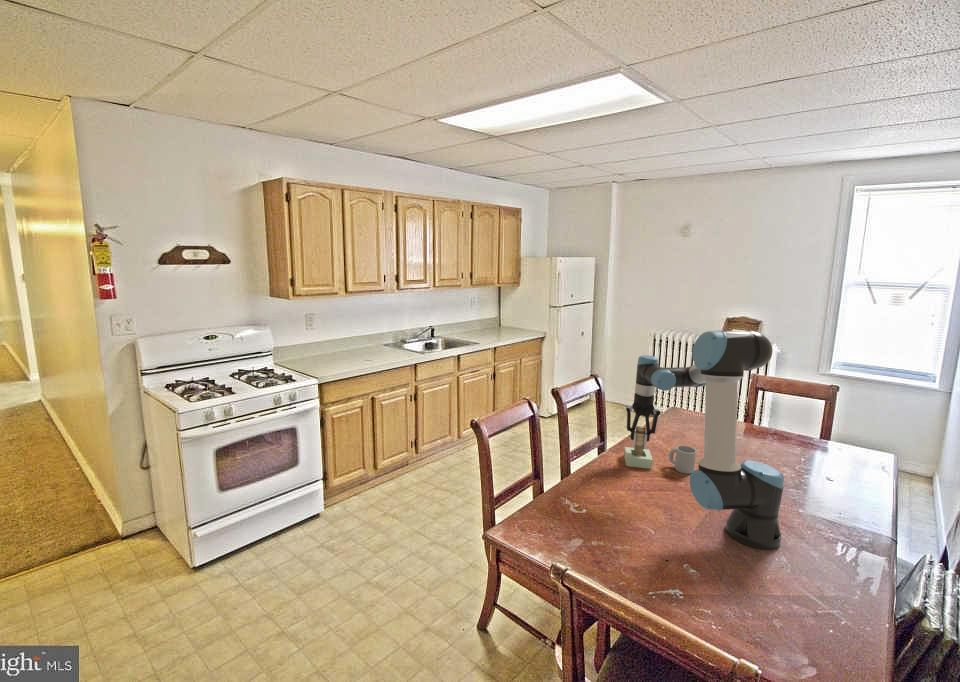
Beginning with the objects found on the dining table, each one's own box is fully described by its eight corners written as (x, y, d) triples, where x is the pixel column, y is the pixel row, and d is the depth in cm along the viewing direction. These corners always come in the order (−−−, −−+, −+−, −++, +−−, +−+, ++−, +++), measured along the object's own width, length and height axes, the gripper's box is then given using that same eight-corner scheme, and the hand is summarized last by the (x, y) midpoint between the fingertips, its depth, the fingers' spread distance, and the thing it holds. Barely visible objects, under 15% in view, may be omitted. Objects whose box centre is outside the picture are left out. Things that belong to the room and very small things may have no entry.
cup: (691, 476, 187) (693, 455, 185) (665, 468, 193) (667, 447, 191) (695, 469, 193) (698, 449, 191) (670, 462, 199) (672, 442, 197)
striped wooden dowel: (642, 461, 196) (646, 429, 193) (633, 460, 196) (636, 428, 193) (641, 457, 199) (645, 426, 196) (632, 456, 200) (635, 425, 197)
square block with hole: (651, 468, 192) (652, 459, 191) (626, 466, 194) (627, 456, 193) (648, 458, 202) (649, 449, 201) (624, 455, 204) (624, 446, 203)
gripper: (664, 392, 194) (658, 445, 199) (622, 388, 197) (617, 441, 202) (667, 398, 187) (661, 453, 191) (623, 394, 190) (618, 448, 195)
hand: (638, 447), depth 197 cm, fingers closed on striped wooden dowel, 3 cm apart
